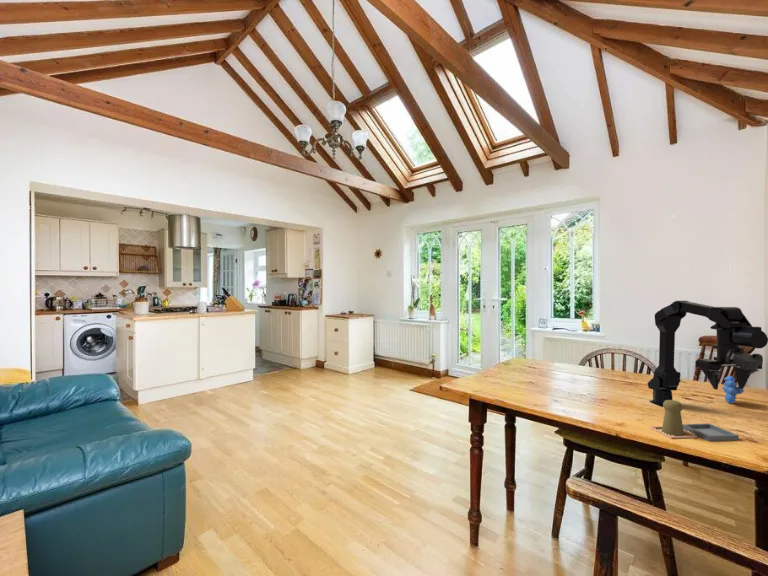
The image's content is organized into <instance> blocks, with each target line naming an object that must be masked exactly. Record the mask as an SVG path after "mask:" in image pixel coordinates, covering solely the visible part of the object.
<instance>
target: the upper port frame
mask: <svg viewBox="0 0 768 576" xmlns="http://www.w3.org/2000/svg"><path fill="white" fill-rule="evenodd" d="M662 426H663V425H658V426H654V425H653V426H649V428H650V429H651V430H654V431H655V432H657V433H659V434H661V435H662V436H664V437H667V438H668V439H671V438H680V439H697V438H698V436H697V435H694V434H692V433H690V432H688V431H686V430H684V429H683V430H684V432H685V433H684V434H686V433H687V434H686V435H684V436H671V435H668V434H665V433H663V432H662V430H660V429H662ZM655 428H657V429H655ZM688 434H689V435H688ZM690 435H691V436H690Z"/></svg>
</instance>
